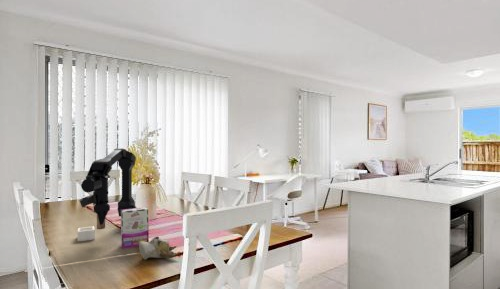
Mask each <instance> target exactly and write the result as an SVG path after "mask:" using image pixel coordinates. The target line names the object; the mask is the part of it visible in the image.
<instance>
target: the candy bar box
mask: <svg viewBox="0 0 500 289" xmlns="http://www.w3.org/2000/svg"><path fill="white" fill-rule="evenodd" d="M120 228H121V229H120V239H121V240H120V243H121V249H128V248H133V247H135V248H136V247H139V241H144V242H150V241H149V234H150V233H149V208H148V207H147V206H145V207H136V208H134V209H124V210H121V216H120Z"/></svg>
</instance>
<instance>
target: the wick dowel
mask: <svg viewBox="0 0 500 289" xmlns="http://www.w3.org/2000/svg"><path fill="white" fill-rule="evenodd" d="M104 229H106V219H105V220H104V222H103V224H102V225H100V223H99V218H98V214H97V213H96V230H104Z"/></svg>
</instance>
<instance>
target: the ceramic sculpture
mask: <svg viewBox="0 0 500 289" xmlns="http://www.w3.org/2000/svg"><path fill="white" fill-rule="evenodd" d="M138 248H139V253H140V254H141V257H142V259H143V260H148V259H149V258H154V259H162V258H163V259H172V258H174V257H176V256H178V253H175V252H174V251H173V250H175V249H176V248H177V245H175V246H170V243H169V241H168V240H167V239H165V238H160V237H159V236H155V237H154V238H151V240H150V241H149V242H144V241H139V246H138Z"/></svg>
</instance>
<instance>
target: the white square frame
mask: <svg viewBox="0 0 500 289" xmlns="http://www.w3.org/2000/svg"><path fill="white" fill-rule="evenodd" d="M95 235H96V229H95V226H94V225H92V226H85V227H83V226H82V227H78V228H77V242H84V241H92V240H96V236H95Z"/></svg>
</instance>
